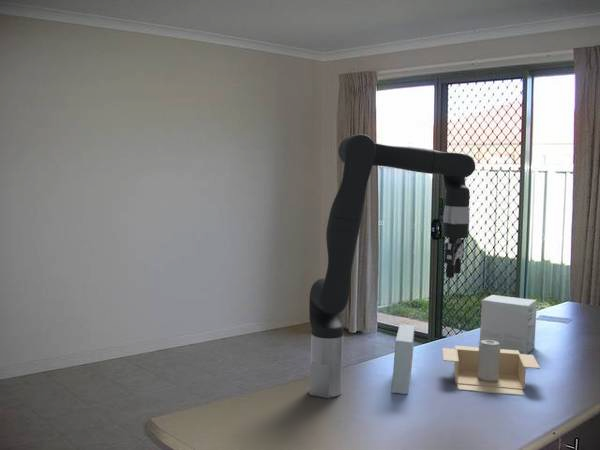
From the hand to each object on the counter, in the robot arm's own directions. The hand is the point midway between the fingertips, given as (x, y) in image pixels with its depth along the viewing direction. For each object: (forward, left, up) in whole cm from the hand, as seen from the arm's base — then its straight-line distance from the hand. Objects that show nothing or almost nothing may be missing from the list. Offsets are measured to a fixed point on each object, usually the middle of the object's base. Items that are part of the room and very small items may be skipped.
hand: (453, 275), depth 202 cm
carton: (+11, -10, -34) cm, 37 cm away
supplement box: (+54, -9, -34) cm, 65 cm away
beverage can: (+11, -10, -34) cm, 37 cm away
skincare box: (-4, +13, -34) cm, 37 cm away
